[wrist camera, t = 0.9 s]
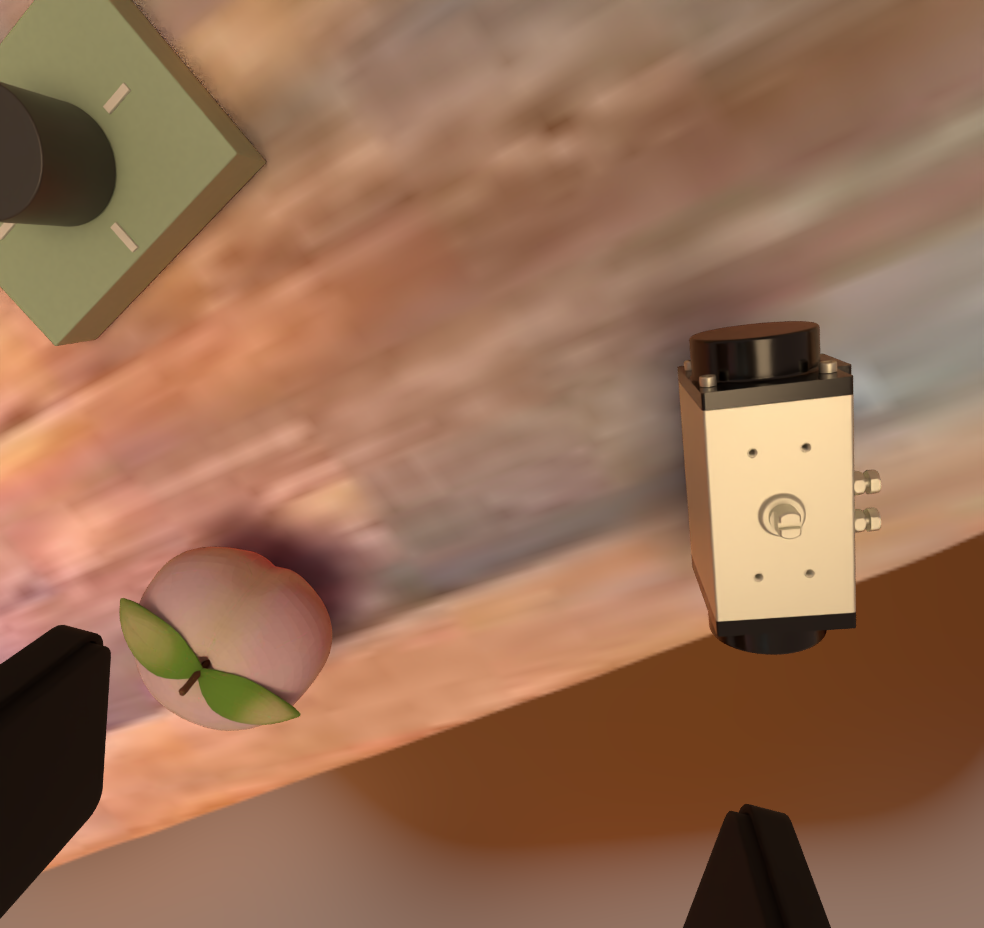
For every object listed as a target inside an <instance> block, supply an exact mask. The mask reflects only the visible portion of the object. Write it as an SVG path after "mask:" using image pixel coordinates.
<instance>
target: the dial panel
mask: <svg viewBox="0 0 984 928" xmlns="http://www.w3.org/2000/svg"><path fill="white" fill-rule="evenodd" d="M0 82H3V83H6V84H9V85H13V86H16V87H19V88H23V89H26V90H29V91H32V92H36V93H39V94H42V95H45V96H49V97H52V98H55V99H58V100H62V101H65V102H68V103H71V104H73V105H75V106H77V107H79V108H80V109H82V110H83V111H85V112H86V113H87V114H88V115H90V116H91V117H92V118H93V119H94V120H95V121H96V123H97V124H98V125H99V126H100V128H101V129H102V131H103V132H104V134H105V135H106V137H107V139H108V141H109V144H110V146H111V149H112V152H113V156H114V160H115V168H116V178H115V186H114V190H113V194H112V196H111V199H110V201H109V203H108V204H107V206H106V207H105V209H104V210H103V211H102V212H101V213H100V214H99V215H98V216H97V217H96V218H94V219H93V220H92V221H90V222H88V223H86V224H83V225H79V226H73V227H64V226H49V225H33V224H18V223H2V222H0V287H1V288H2V289H3V290H4V291H5V292H6V293H7V294H8V295H9V297H10V298H11V299H12V300H13V301H14V302H15V303H16V304H17V305H18V306H19V307H20V308H21V310H22V311H23V312H24V313H25V314H26V315H27V316H28V317H29V318H30V319H31V320H32V321H33V323H34V324H35V325H36V326H37V327H38V328H39V329H40V330H41V331H42V332H43V333H44V334H45V336H46V337H47V338H48V339H49V340H50V341H51V342H52V343H53V344H54V345H55V346H59V345H66V344H72V343H78V342H84V341H90V340H95V339H97V338H98V337H99V336H100V335H101V333H102V332H103V331H104V330H105V329H106V328H107V327H108V326H109V325H110V324H111V323H112V322H113V321H114V320H115V319H116V318H117V317H118V316H119V315H120V314H121V313H122V312H123V311H124V310H125V309H126V307H127V306H128V305H129V304H130V303H131V302H132V301H133V300H134V299H135V298H136V297H137V296H138V295H139V294H140V293H141V292H142V291H143V290H144V289H145V288H146V287H147V286H148V285H149V284H150V283H151V281H152V280H153V279H154V278H155V277H156V276H157V275H158V274H159V273H160V272H161V271H162V270H163V269H164V268H165V267H166V266H167V265H168V264H169V263H170V262H171V261H172V260H173V259H174V258H175V257H176V255H177V254H178V253H179V252H180V251H181V250H182V249H183V248H184V247H185V246H186V245H187V244H188V243H189V242H190V241H191V240H192V239H193V238H194V237H195V236H196V235H197V234H198V233H199V232H200V231H201V229H202V228H203V227H204V226H205V225H206V224H207V223H208V222H209V221H210V220H211V219H212V218H213V217H214V216H215V215H216V214H217V213H218V212H219V211H220V210H221V209H222V208H223V207H224V206H225V205H226V203H227V202H228V201H229V200H230V199H231V198H232V197H233V196H234V195H235V194H236V193H237V192H238V191H239V190H240V189H241V188H242V187H243V186H244V185H245V184H246V183H247V182H248V181H249V180H250V179H251V177H252V176H253V175H254V174H255V173H256V172H257V171H258V170H259V169H260V168H261V167H262V166H263V165H264V164H265V163H266V162H265V160H264V159H263V157H262V156H261V155H260V154H259V153H258V151H257V150H256V149H255V148H254V147H253V145H252V144H251V143H250V142H249V141H248V139H247V138H246V137H245V136H244V135H243V134H242V132H241V131H240V130H239V129H238V128H237V126H236V125H235V124H234V123H233V122H232V120H231V119H230V118H229V117H228V116H227V114H226V113H225V112H224V111H223V110H222V108H221V107H220V106H219V105H218V104H217V102H216V101H215V100H214V99H213V98H212V96H211V95H210V94H209V93H208V92H207V90H206V89H205V88H204V87H203V86H202V84H201V83H200V82H199V81H198V80H197V78H196V77H195V76H194V75H193V74H192V72H191V71H190V70H189V69H188V68H187V66H186V65H185V64H184V63H183V62H182V61H181V59H180V58H179V57H178V56H177V55H176V53H175V52H174V51H173V50H172V49H171V47H170V46H169V45H168V44H167V43H166V41H165V40H164V39H163V38H162V37H161V35H160V34H159V33H158V32H157V31H156V29H155V28H154V27H153V26H152V25H151V23H150V22H149V21H148V20H147V19H146V17H145V16H144V15H143V14H142V13H141V11H140V10H139V9H138V8H137V7H136V5H135V4H134V3H133V2H132V1H131V0H34V1H33V3H32V4H31V5H30V7H29V8H28V9H27V10H26V12H25V13H24V14H23V16H22V17H21V18H20V19H19V21H18V22H17V23H16V25H15V26H14V27H13V29H12V30H11V31H10V32H9V34H8V35H7V36H6V38H5V39H4V40H3V41H2V43H1V44H0Z"/></svg>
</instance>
